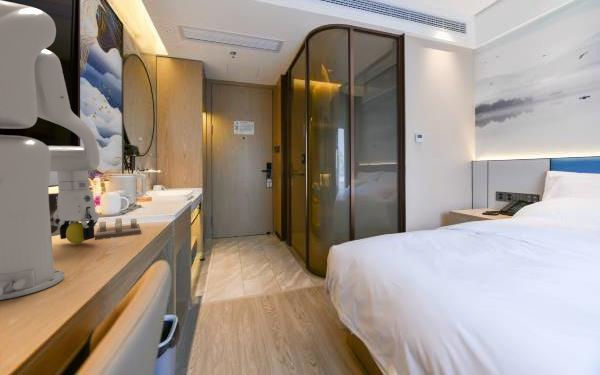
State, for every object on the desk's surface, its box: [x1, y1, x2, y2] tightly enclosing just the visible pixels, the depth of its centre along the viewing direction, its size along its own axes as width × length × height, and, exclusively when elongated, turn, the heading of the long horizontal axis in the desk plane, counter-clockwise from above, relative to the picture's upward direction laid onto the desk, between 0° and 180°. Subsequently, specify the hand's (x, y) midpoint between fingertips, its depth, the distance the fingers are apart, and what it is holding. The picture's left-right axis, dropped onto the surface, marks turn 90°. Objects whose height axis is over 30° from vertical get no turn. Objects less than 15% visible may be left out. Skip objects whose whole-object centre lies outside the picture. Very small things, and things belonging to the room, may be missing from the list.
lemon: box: [66, 221, 86, 246], centre depth 84 cm, size 6×6×8 cm
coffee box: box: [48, 192, 76, 237], centre depth 101 cm, size 9×6×16 cm
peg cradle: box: [94, 218, 142, 241], centre depth 100 cm, size 14×14×5 cm
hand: (77, 238), depth 84 cm, fingers open, 8 cm apart
